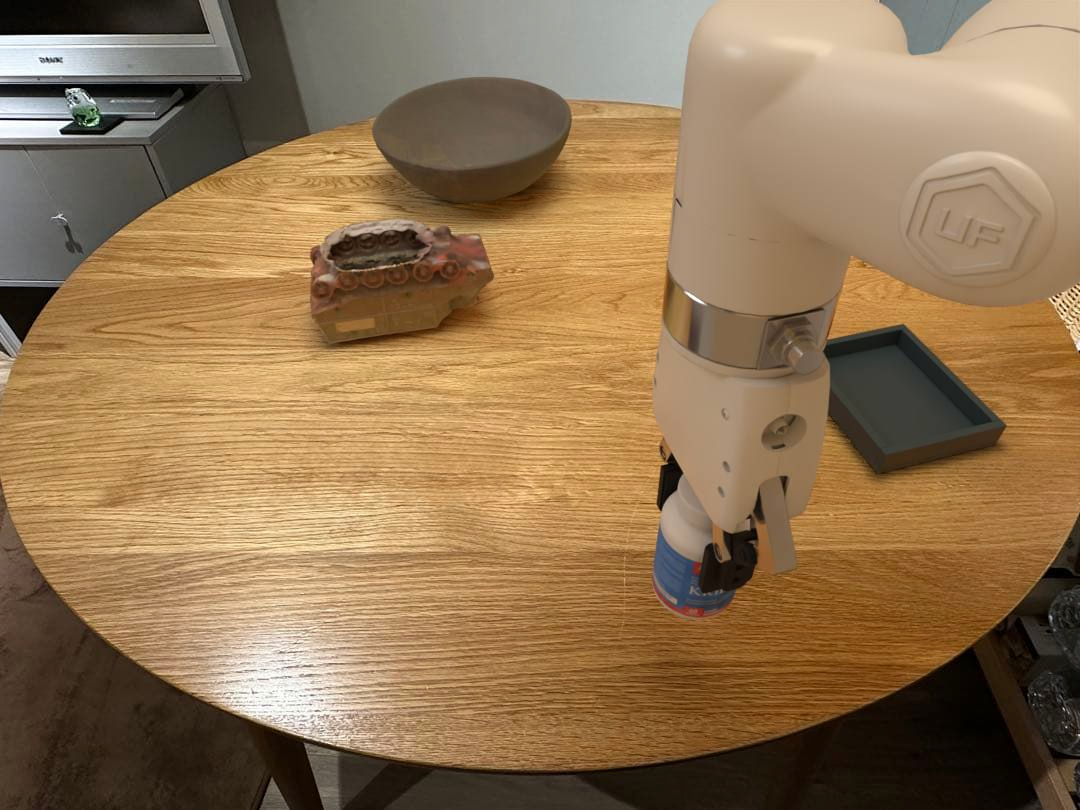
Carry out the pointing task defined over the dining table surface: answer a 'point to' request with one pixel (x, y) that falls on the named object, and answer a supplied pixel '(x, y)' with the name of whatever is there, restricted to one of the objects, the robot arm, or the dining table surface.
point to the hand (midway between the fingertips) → (701, 540)
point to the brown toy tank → (393, 277)
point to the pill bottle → (686, 557)
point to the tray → (903, 400)
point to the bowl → (474, 136)
